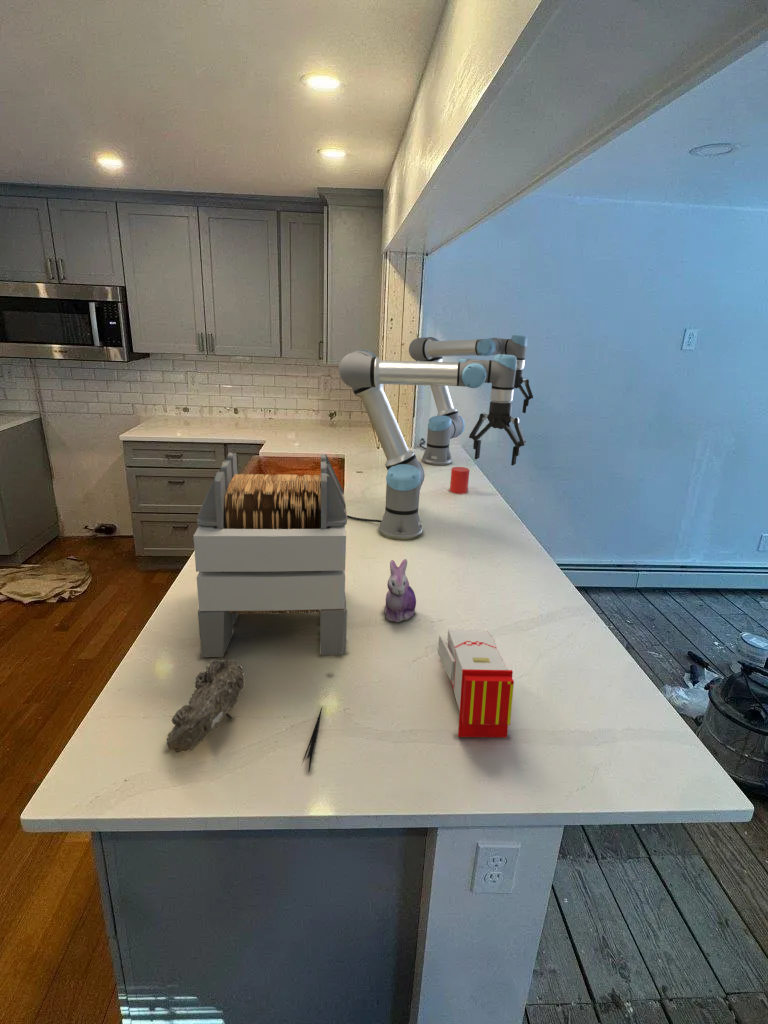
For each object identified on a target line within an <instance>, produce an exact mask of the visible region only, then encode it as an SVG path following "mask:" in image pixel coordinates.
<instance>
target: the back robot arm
mask: <svg viewBox="0 0 768 1024" xmlns="http://www.w3.org/2000/svg"><path fill="white" fill-rule="evenodd" d="M527 348H528V336H526V335H521V334H520V335H519V334H513V335H511V338H500V337H489V338H480V339H479V338H477V339H476V338H475V339H454V340H453V339H452V340H440V339H439V338H435V337H432V336H426V337H416V338H414V339H413V340H411V342H410V344H409V345H408V353H409V354H408V355H409V356H410V357H411V358H412V359H413V361H426V362H444V361H443V360H444V359H443V358H446V357H447V358H448V357H481V356H483V357H489V356H495V355H497V354H506V355H514V356H515V357H516V358H517V363H516V375H515V383H514V389H519V391H520V393H521V394H522V395H523V397H524V399H523V403H522V413H523V414H526V412H527V407H528V406H529V403H530V400H531V399H534V395H533V392H532V390H531V386H530V380H529V379H528V378H524V371H525V370H524V368H525V362H526V354H527V353H526V352H527ZM522 384H524V386H525V388H526V389H524V387H523V386H522ZM429 386H430V389H431V392H432V396H433V400H434V403H435V406H436V410H437V414H436V415H434V416H430V418H429V419H428V423H427V436H426V441H425V438H423V437H422V438H421V439H420V440H421V441H423V442H420V443H419V447H420V448H421V449H424V453H423V455H422V459H421V461H422V462H423V463H424V464H427V465H431V466H448V465H451V464H452V460H453V459H452V455H451V450H450V440H451V439H455V438H457V437H459V436H460V435H462V434H463V432H464V431H465V428H466V423H465V419H464V418H463V417H462V416H461V415H460V414H459V410H458V409H457V408H455V407H454V404H453V400H452V396H451V394H450V390H449V386H433V385H429ZM425 443H426V447H425V446H423V445H424V444H425Z"/></svg>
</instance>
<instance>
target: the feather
mask: <svg viewBox="0 0 768 1024" xmlns="http://www.w3.org/2000/svg"><path fill="white" fill-rule="evenodd" d="M329 675H330V676H331V675H332V674H331V673H330V674H329ZM322 710H323V707H321V708H320V710H319V713H318V716H317V719H316V723H315V725H314V728H313V731H312V733H311V737H310V739H309V742H308V745H307V748H306V751H305V754H304V757H303V760H302V763H301V767H302V765H303V763H304V761H305V758H308V759H309V760H308V762H307V763H308V764H307V766H308V771H310V770H311V766H312V765H311V764H312V760H313V757H315V756H314V755H315V751H316V749H315V746H317V739H318V733H319V729H320V722H321V717H322V712H323V711H322ZM313 754H314V755H313ZM306 755H307V757H306Z"/></svg>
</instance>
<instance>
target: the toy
mask: <svg viewBox="0 0 768 1024" xmlns="http://www.w3.org/2000/svg"><path fill="white" fill-rule="evenodd" d="M446 640H447V643H446V641H445V639H444V636H443V635H442V634H439V637H438V646H437V656H438V657H439V659H440V661H441V663H442V666H443V668H444V670H445V672H446V674H447V677H448V679H449V681H450V684H451V687H452V690H453V693H454V697H455V701H456V705H457V708H458V711H459V714H458V715H459V716H458V730H457V731H458V732H457V737H458V738H508V731H509V726H510V725H511V717H512V707H513V697H514V696H513V695H514V684H515V680H514V679H513V673H514V671H513V670H512V669H508V667H507V665H506V662H505V661H504V659H503V658H502V655H501V653H500V651H499V649H498V647H497V643H496V639H495V637H494V635H493V634H491V632H490V631H489V629H467V628H466V629H465V628H463V629H461V628H460V629H459V628H448V630H447V639H446Z"/></svg>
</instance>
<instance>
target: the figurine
mask: <svg viewBox="0 0 768 1024" xmlns="http://www.w3.org/2000/svg"><path fill="white" fill-rule="evenodd" d="M407 567H408V559H406V558H404V559H403V560H402V561H401V563H400V565H399V566H398V565H397V563H396V562H395V561H394V560H393V559H391V560H390V561H389V570H390V576H389V578H388V579H387V589H388V591H387V592H386V594H385V595H386V596H385V607H384V615H385V616H386V620H387V621H391V622H395V623H400V622H402V621H406V620H409V619H410V618H411V617H413V616H414V615H415V610H416V606H417V597H416V593H415V591H414V590H413V587H411V586H410V582H409V579H408V577H407V574H406V571H407Z"/></svg>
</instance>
